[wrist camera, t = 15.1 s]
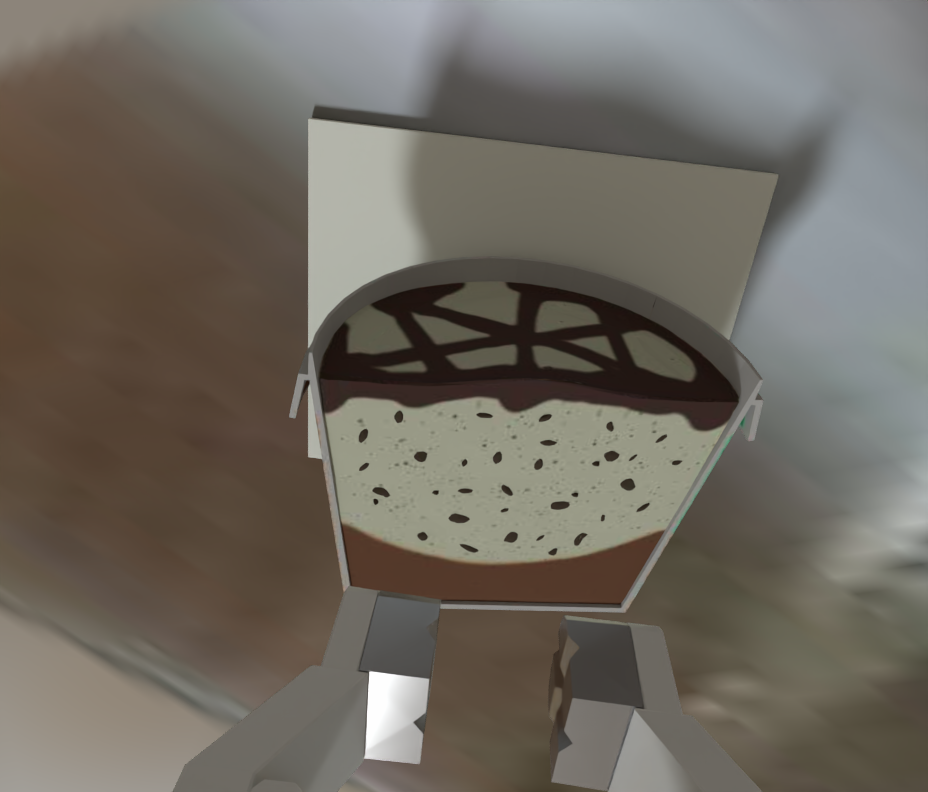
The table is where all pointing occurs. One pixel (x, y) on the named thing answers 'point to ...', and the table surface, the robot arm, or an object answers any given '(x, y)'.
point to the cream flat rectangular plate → (524, 216)
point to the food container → (516, 430)
